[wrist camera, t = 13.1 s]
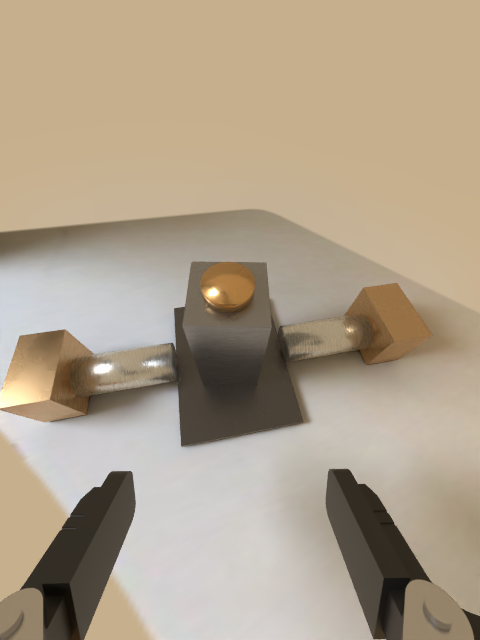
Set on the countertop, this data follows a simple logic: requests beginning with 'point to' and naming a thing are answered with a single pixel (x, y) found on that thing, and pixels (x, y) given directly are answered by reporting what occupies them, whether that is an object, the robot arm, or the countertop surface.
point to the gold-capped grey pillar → (228, 320)
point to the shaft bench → (195, 397)
